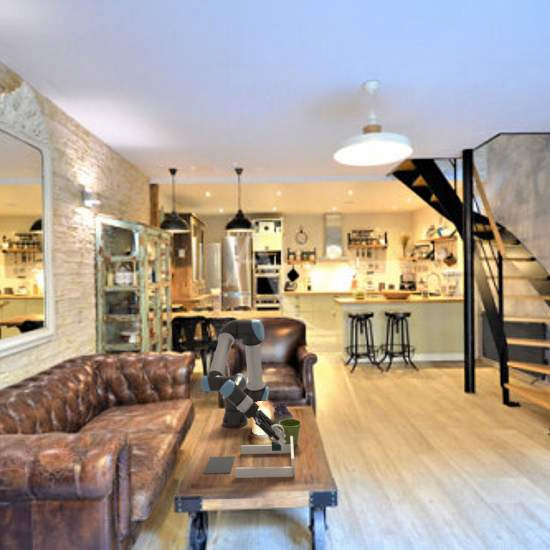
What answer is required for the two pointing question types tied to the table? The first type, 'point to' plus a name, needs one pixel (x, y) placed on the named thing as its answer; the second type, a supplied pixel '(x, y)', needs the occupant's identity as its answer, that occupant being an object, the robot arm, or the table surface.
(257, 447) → the shelf lane
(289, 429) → the plant pot
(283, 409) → the geode
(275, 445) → the watch
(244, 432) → the table surface
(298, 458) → the table surface
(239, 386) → the robot arm
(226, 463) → the mat
